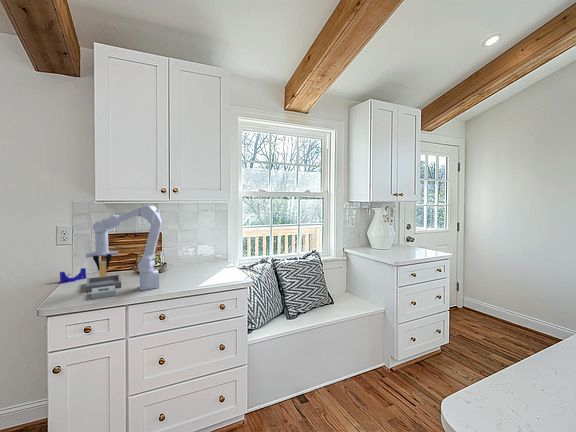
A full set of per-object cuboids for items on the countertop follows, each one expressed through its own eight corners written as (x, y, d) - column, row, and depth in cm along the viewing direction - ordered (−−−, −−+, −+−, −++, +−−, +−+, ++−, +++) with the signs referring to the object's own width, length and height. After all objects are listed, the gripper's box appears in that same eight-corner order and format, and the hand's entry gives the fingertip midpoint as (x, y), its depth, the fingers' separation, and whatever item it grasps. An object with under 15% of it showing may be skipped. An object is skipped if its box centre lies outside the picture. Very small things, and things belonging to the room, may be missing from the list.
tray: (120, 279, 177) (119, 274, 177) (121, 287, 161) (121, 281, 161) (87, 283, 169) (87, 278, 168) (85, 292, 153) (85, 286, 153)
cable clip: (63, 283, 169) (62, 273, 169) (60, 282, 172) (59, 272, 171) (87, 278, 179) (86, 269, 178) (84, 277, 181) (83, 268, 181)
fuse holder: (115, 290, 156) (114, 285, 156) (115, 295, 148) (115, 290, 148) (92, 293, 151) (92, 288, 151) (91, 299, 143) (91, 294, 143)
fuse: (106, 275, 159) (105, 260, 159) (106, 276, 157) (106, 261, 156) (99, 276, 158) (99, 261, 157) (99, 277, 155) (99, 262, 155)
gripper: (84, 246, 149) (86, 273, 150) (118, 244, 157) (119, 269, 158) (85, 244, 155) (86, 270, 156) (117, 242, 163) (118, 266, 164)
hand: (102, 269), depth 157 cm, fingers closed on fuse, 3 cm apart
